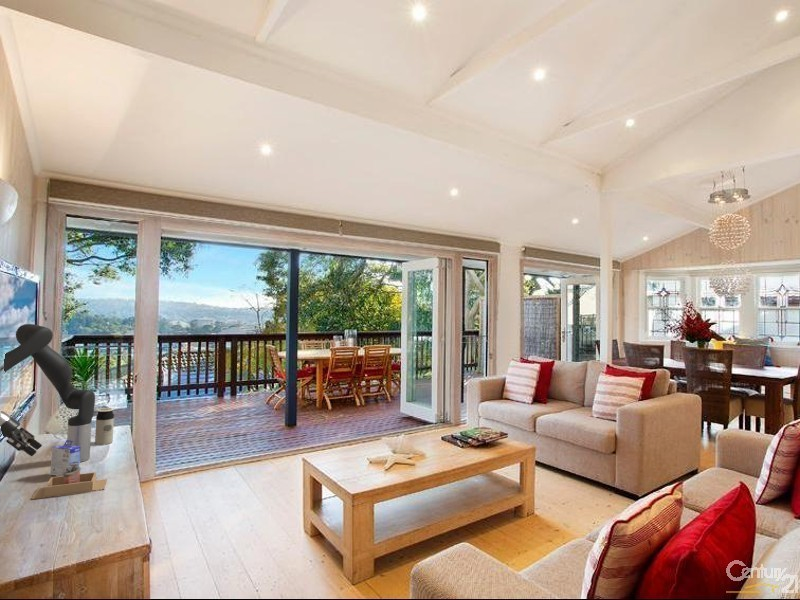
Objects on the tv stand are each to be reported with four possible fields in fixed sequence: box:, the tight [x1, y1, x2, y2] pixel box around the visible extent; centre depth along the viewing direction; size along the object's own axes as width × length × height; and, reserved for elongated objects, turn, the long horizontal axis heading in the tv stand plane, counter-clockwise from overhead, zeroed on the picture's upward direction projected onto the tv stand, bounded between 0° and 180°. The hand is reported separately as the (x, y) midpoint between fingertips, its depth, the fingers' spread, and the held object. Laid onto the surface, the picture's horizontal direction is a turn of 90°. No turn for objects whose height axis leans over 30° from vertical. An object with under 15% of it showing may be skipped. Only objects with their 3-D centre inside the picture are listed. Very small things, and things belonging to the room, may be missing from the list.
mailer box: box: [30, 471, 108, 500], centre depth 180 cm, size 15×23×4 cm, turn 119°
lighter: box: [63, 463, 82, 484], centre depth 179 cm, size 8×3×10 cm, turn 5°
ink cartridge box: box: [49, 439, 81, 477], centre depth 193 cm, size 10×6×14 cm, turn 78°
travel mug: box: [94, 407, 115, 446], centre depth 239 cm, size 8×8×18 cm
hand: (37, 450), depth 173 cm, fingers open, 8 cm apart
